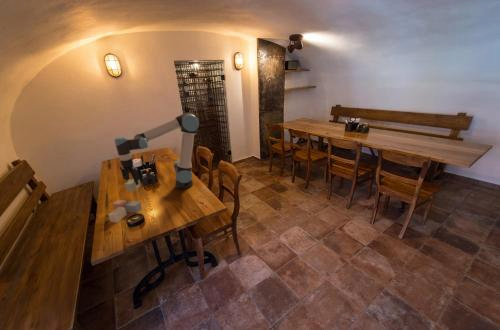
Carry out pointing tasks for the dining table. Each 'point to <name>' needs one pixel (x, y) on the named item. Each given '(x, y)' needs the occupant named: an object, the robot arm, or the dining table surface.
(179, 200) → the dining table surface
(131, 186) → the green brick
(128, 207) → the slate brick
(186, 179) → the robot arm
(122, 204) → the terracotta brick
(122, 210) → the cream brick
